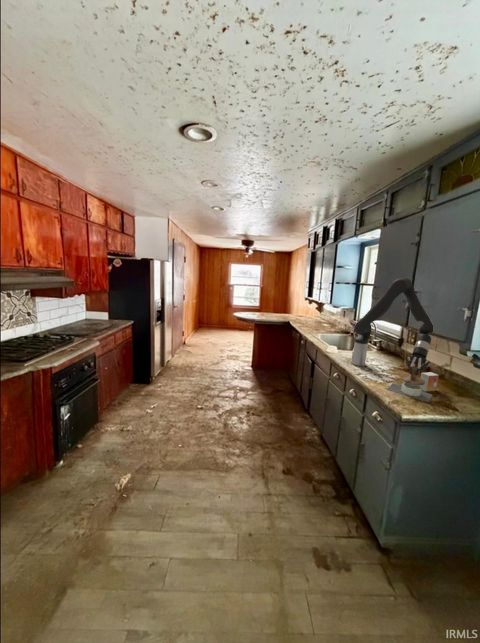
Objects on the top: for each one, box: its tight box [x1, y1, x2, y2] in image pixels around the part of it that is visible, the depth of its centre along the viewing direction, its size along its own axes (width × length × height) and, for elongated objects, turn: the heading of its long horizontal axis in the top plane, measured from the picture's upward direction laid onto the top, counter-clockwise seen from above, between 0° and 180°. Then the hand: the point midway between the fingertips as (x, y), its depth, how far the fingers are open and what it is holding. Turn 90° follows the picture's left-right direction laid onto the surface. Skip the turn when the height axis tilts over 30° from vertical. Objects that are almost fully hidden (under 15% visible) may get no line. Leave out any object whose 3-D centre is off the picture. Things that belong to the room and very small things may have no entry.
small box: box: [419, 371, 440, 392], centre depth 179 cm, size 8×6×10 cm
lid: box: [400, 366, 425, 385], centre depth 171 cm, size 12×12×8 cm
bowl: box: [401, 381, 423, 397], centre depth 172 cm, size 10×10×5 cm
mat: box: [386, 383, 433, 403], centre depth 174 cm, size 22×14×1 cm, turn 48°
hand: (413, 374), depth 169 cm, fingers closed on lid, 2 cm apart
